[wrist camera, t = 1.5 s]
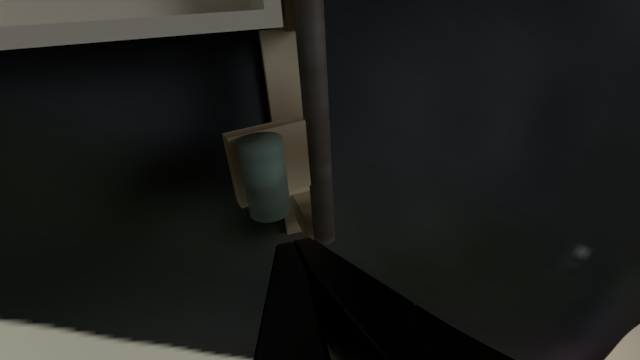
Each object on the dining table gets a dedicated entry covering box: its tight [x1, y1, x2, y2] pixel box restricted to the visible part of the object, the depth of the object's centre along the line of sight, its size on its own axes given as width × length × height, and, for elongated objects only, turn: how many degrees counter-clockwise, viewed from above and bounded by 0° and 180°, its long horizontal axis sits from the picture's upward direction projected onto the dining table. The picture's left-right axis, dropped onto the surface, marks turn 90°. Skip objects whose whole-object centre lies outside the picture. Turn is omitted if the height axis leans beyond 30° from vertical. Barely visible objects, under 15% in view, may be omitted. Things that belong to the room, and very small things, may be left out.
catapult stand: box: [259, 0, 314, 240], centre depth 16 cm, size 20×13×3 cm
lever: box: [222, 0, 335, 245], centre depth 13 cm, size 19×18×3 cm
